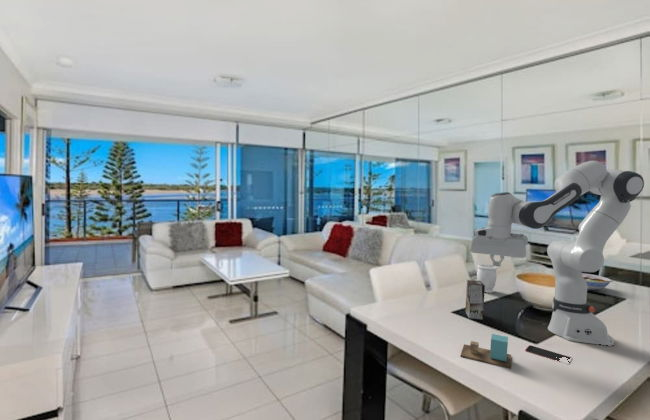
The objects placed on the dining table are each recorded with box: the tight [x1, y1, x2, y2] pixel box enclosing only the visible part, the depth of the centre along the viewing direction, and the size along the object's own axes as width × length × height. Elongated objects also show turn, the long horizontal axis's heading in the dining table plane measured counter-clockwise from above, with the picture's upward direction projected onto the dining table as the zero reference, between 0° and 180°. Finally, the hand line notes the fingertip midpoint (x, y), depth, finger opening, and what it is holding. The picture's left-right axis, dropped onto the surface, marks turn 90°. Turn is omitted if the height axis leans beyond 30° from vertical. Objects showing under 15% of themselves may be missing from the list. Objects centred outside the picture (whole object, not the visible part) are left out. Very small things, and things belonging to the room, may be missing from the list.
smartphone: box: [524, 344, 572, 364], centre depth 129 cm, size 7×1×14 cm
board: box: [460, 340, 512, 370], centre depth 126 cm, size 16×10×4 cm, turn 62°
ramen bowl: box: [582, 272, 612, 291], centre depth 219 cm, size 25×23×8 cm
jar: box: [476, 263, 498, 294], centre depth 208 cm, size 11×10×15 cm
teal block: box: [489, 333, 509, 362], centre depth 124 cm, size 5×5×7 cm
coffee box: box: [465, 279, 485, 320], centre depth 166 cm, size 9×6×16 cm
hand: (496, 265), depth 143 cm, fingers closed
